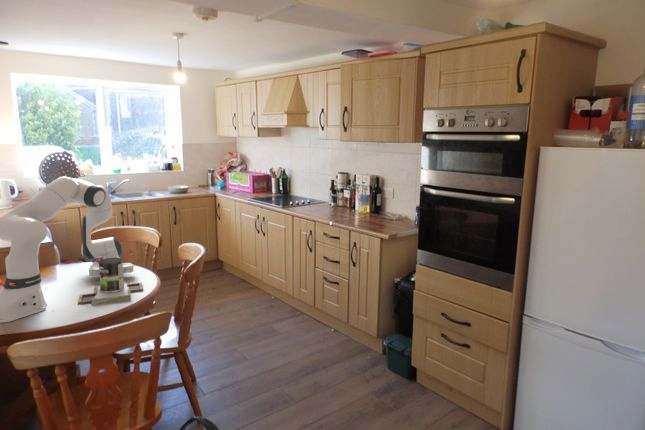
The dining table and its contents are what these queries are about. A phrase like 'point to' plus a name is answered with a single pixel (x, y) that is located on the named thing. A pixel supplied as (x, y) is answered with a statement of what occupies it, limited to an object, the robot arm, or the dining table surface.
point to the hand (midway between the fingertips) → (111, 273)
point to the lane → (90, 297)
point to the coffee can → (111, 275)
